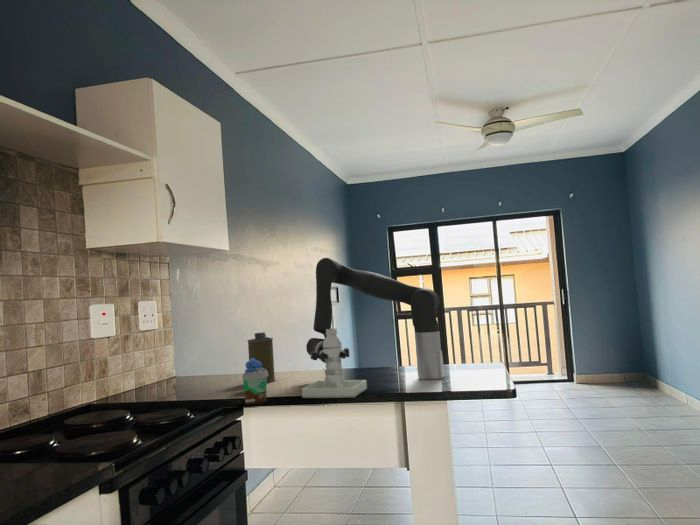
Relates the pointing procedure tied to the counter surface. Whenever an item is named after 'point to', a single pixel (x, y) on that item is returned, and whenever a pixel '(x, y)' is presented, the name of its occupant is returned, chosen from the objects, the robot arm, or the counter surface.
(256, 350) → the canister
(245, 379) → the food container
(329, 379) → the plastic bottle
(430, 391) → the counter surface
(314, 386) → the tray
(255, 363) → the grapes
